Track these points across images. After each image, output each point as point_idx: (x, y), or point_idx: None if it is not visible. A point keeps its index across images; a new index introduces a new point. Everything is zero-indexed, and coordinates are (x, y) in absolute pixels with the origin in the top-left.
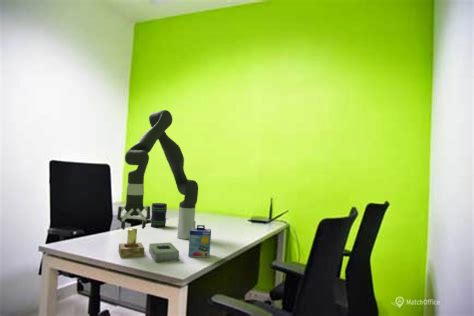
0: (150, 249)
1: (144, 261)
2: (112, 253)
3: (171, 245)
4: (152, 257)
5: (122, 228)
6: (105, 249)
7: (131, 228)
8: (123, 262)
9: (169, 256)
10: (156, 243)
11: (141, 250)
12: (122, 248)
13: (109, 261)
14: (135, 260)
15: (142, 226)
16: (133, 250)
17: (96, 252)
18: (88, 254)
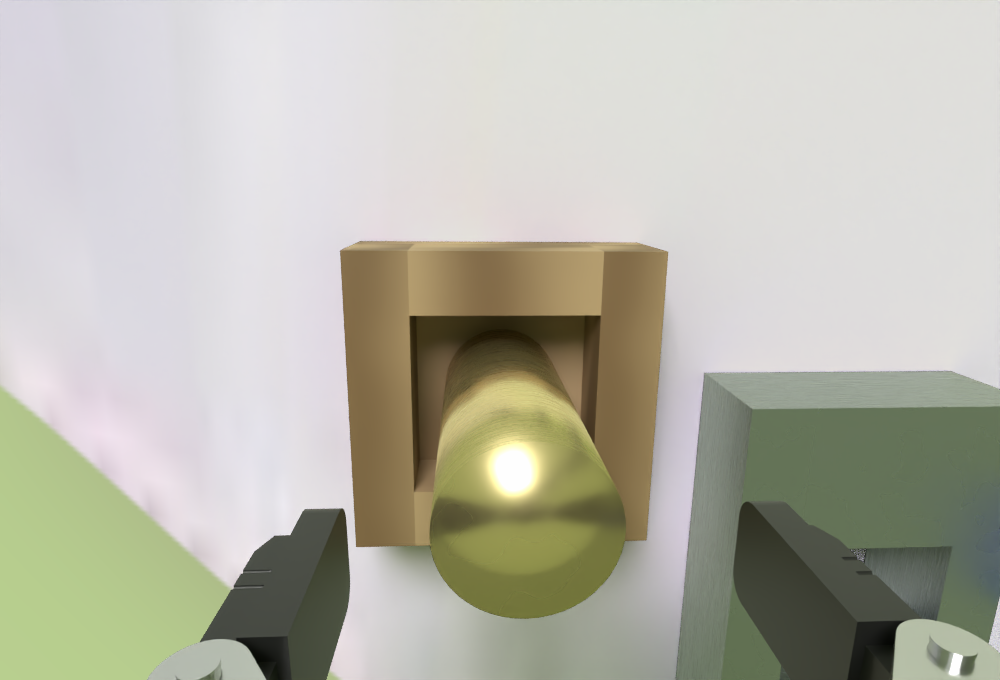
0: (719, 486)
1: (586, 665)
2: (288, 326)
3: (987, 551)
4: (686, 588)
5: (306, 516)
6: (192, 106)
7: (517, 457)
8: (394, 658)
9: None
10: (847, 418)
11: None
12: (378, 521)
13: None
14: (510, 623)
15: (757, 603)
16: None
17: (90, 236)
18: (5, 307)
